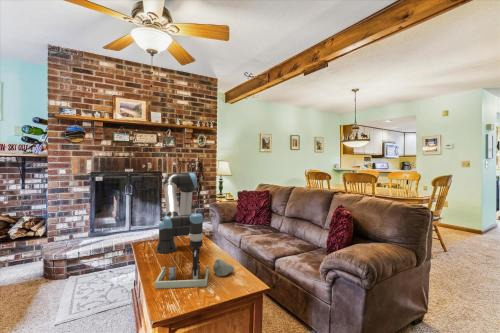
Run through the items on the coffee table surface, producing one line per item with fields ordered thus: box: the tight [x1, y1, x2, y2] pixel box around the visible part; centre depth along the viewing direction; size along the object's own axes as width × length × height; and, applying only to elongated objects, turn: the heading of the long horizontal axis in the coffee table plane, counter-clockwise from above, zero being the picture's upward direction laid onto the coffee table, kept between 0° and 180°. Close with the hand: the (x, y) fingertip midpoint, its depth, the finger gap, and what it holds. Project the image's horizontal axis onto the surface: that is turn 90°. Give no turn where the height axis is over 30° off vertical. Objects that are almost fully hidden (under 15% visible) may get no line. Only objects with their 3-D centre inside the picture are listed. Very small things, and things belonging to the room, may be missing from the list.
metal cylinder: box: [168, 265, 177, 281], centre depth 149 cm, size 4×4×7 cm
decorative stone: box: [212, 258, 235, 277], centre depth 157 cm, size 13×11×10 cm
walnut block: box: [191, 264, 201, 280], centre depth 151 cm, size 4×4×7 cm
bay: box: [154, 264, 210, 290], centre depth 148 cm, size 18×29×4 cm, turn 97°
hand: (196, 277), depth 151 cm, fingers open, 7 cm apart
